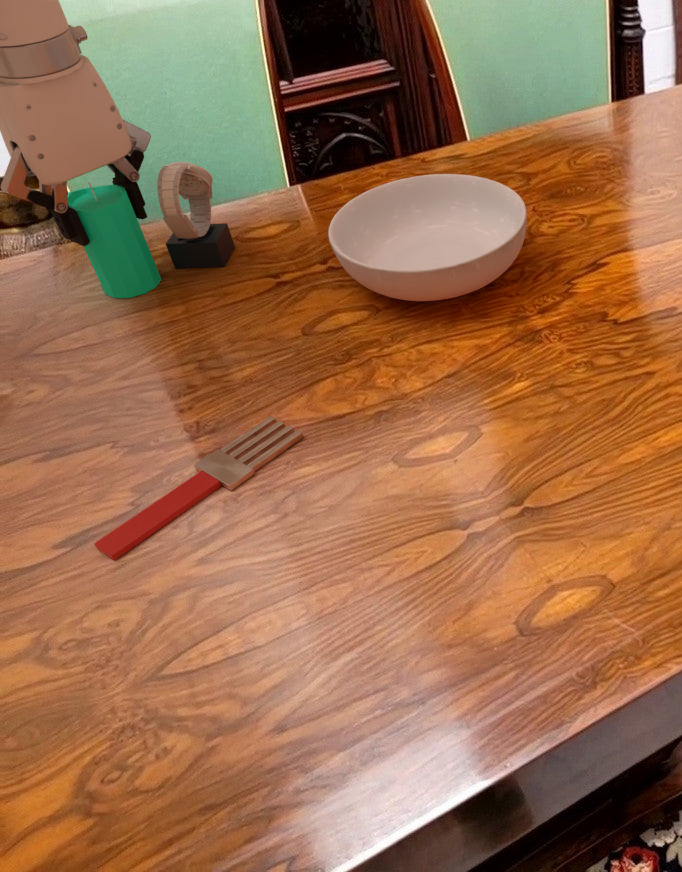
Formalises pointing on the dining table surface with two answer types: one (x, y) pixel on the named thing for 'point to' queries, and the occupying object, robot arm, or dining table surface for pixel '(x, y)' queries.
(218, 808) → the dining table surface
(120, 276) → the candle
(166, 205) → the watch
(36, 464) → the dining table surface
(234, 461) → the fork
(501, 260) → the serving bowl
